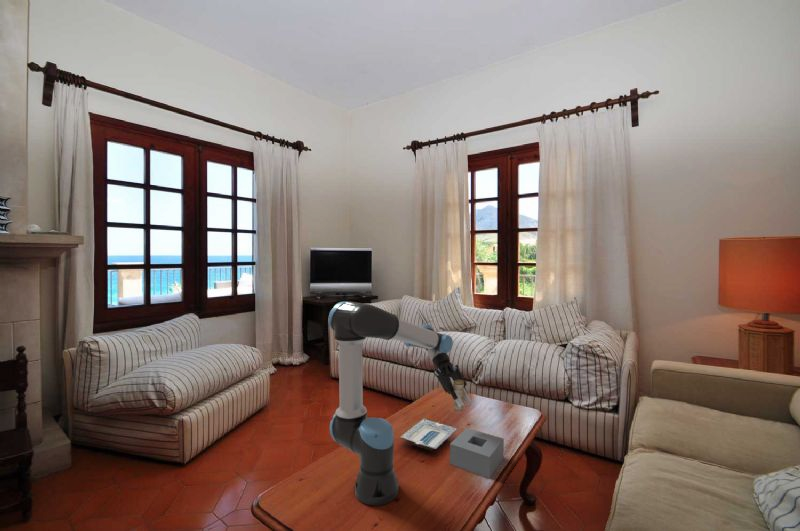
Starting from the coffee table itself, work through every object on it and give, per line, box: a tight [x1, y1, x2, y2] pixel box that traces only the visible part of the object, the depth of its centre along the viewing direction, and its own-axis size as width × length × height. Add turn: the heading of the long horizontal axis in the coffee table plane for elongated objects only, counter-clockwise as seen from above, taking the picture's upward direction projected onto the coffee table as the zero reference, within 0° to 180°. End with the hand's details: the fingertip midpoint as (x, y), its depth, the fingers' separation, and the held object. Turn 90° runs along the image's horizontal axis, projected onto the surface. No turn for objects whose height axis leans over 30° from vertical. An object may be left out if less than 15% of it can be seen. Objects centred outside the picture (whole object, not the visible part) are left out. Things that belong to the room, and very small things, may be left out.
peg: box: [453, 380, 465, 412], centre depth 149 cm, size 4×4×12 cm
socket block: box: [449, 427, 505, 480], centre depth 139 cm, size 16×16×8 cm
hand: (465, 404), depth 146 cm, fingers closed on peg, 4 cm apart
